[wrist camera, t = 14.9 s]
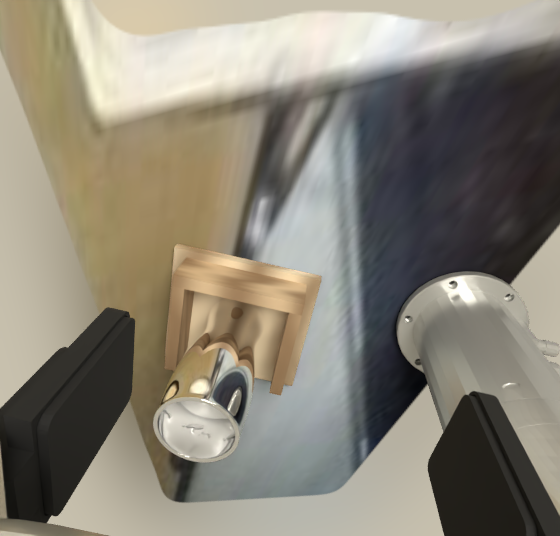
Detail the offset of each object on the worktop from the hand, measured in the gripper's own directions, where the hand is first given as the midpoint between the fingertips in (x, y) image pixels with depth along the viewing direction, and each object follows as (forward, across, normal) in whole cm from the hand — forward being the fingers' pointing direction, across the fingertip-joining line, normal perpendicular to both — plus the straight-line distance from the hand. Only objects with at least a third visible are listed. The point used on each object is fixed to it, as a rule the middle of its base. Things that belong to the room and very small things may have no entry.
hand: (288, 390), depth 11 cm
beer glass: (+28, +5, +17) cm, 33 cm away
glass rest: (+28, +4, +17) cm, 33 cm away
